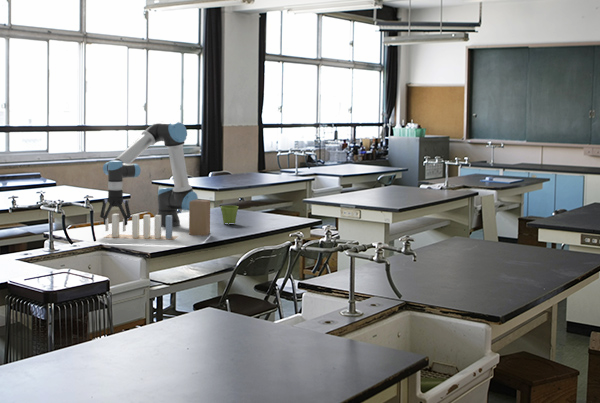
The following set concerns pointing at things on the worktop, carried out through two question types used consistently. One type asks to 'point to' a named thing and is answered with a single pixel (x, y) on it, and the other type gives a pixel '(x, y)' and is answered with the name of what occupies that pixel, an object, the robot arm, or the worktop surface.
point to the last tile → (168, 226)
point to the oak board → (140, 237)
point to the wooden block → (199, 217)
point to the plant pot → (229, 213)
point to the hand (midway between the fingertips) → (115, 230)
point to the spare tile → (115, 225)
